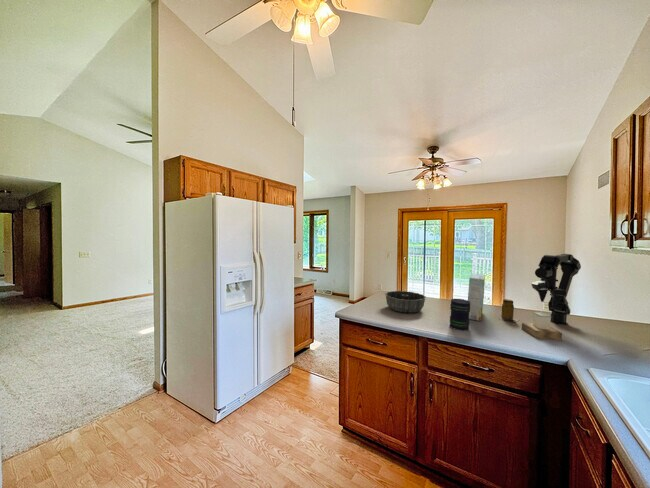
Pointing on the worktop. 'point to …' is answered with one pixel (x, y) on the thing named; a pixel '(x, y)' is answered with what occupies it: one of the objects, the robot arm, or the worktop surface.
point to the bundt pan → (405, 301)
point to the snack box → (476, 296)
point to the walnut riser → (541, 332)
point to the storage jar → (460, 314)
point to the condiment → (507, 310)
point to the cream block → (541, 320)
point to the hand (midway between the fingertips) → (547, 303)
